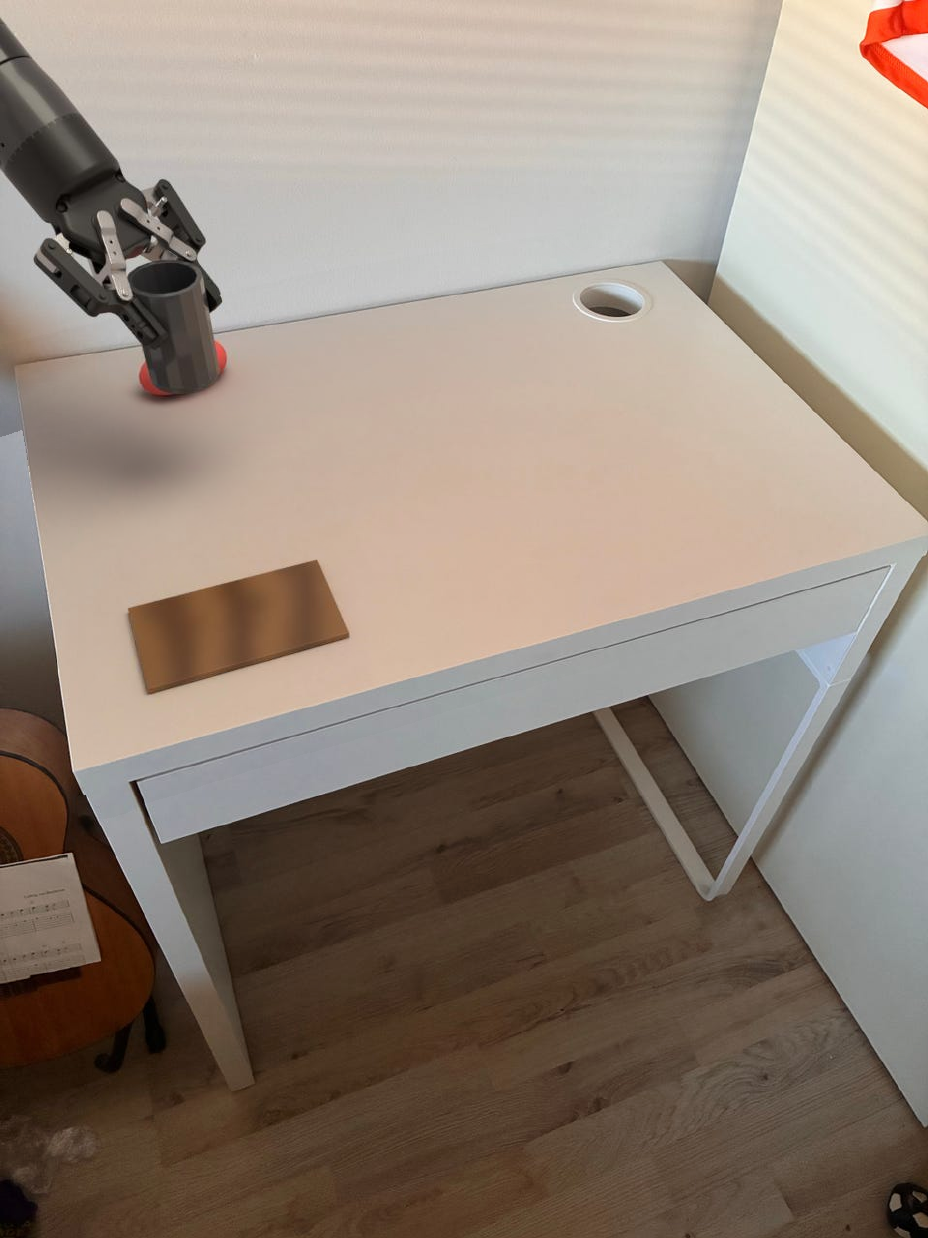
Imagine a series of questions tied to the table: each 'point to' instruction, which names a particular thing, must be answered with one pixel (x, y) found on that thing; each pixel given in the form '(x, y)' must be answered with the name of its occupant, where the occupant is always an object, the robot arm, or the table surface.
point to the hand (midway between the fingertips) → (189, 324)
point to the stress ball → (152, 389)
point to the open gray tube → (177, 325)
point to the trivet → (235, 625)
